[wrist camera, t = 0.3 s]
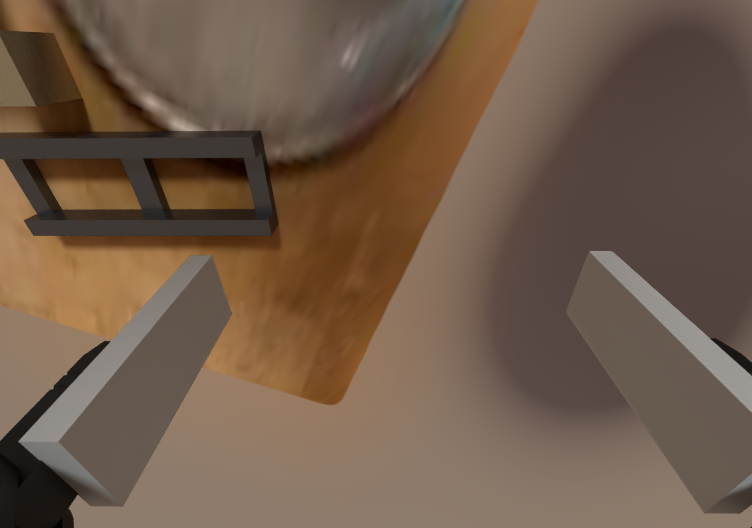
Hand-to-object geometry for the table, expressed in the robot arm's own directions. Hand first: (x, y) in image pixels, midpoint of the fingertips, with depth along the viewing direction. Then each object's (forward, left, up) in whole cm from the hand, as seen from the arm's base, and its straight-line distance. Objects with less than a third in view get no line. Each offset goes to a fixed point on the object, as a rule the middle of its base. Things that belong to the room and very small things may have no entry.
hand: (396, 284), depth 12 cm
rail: (+6, -28, -27) cm, 39 cm away
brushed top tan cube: (-6, -34, -28) cm, 44 cm away
